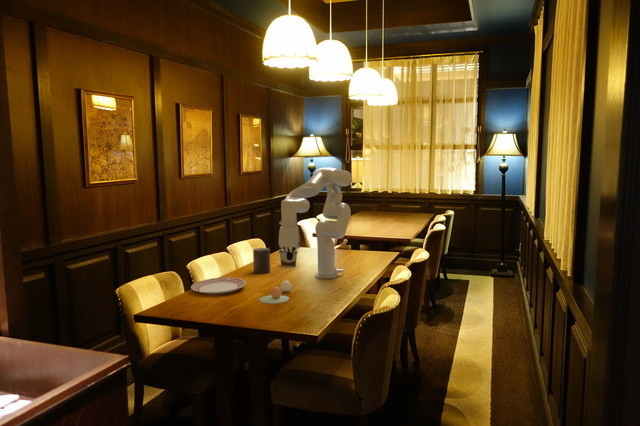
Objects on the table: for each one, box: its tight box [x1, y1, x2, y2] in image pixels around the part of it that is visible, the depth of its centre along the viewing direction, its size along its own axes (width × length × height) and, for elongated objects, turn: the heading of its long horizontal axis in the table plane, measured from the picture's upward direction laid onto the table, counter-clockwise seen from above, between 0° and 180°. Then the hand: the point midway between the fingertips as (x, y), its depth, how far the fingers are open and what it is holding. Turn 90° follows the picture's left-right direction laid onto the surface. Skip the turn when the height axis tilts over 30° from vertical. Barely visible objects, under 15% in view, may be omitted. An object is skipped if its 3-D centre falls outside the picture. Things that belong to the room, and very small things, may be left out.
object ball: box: [269, 286, 283, 298], centre depth 241 cm, size 6×6×6 cm
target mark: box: [258, 294, 290, 305], centre depth 239 cm, size 14×14×1 cm
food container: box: [278, 248, 299, 268], centre depth 313 cm, size 12×6×10 cm, turn 71°
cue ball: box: [280, 280, 293, 293], centre depth 252 cm, size 6×6×6 cm
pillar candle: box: [252, 247, 271, 275], centre depth 295 cm, size 10×10×15 cm
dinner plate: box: [190, 277, 247, 295], centre depth 258 cm, size 28×27×3 cm
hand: (289, 259), depth 256 cm, fingers closed
